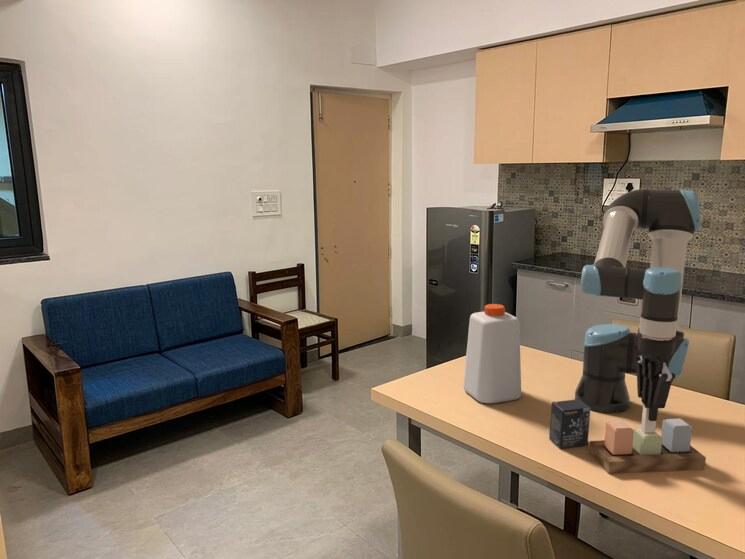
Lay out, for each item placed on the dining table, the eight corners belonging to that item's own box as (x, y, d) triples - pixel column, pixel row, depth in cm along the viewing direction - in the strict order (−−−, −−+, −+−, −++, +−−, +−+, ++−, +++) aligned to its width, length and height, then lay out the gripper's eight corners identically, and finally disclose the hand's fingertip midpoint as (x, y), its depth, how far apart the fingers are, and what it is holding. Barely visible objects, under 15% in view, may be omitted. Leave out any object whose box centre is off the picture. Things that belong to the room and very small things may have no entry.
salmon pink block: (613, 454, 134) (615, 429, 133) (604, 445, 138) (606, 420, 137) (631, 453, 134) (634, 428, 133) (622, 444, 139) (624, 419, 137)
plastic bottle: (500, 381, 187) (503, 298, 181) (526, 399, 173) (531, 309, 167) (458, 388, 182) (460, 302, 176) (482, 407, 168) (484, 314, 162)
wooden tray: (608, 473, 132) (609, 461, 131) (589, 452, 142) (590, 440, 141) (704, 469, 133) (705, 457, 133) (679, 448, 143) (680, 437, 143)
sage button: (641, 461, 135) (643, 436, 134) (631, 452, 139) (633, 427, 138) (659, 460, 135) (662, 435, 134) (649, 451, 140) (651, 427, 138)
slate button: (671, 452, 135) (673, 426, 134) (660, 442, 139) (663, 418, 138) (689, 451, 135) (692, 426, 134) (678, 442, 140) (681, 417, 138)
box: (560, 450, 143) (562, 410, 141) (548, 439, 148) (550, 401, 146) (588, 446, 145) (591, 407, 143) (575, 435, 150) (578, 398, 148)
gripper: (690, 344, 125) (679, 443, 130) (657, 327, 138) (648, 418, 143) (657, 345, 124) (647, 445, 129) (626, 328, 137) (619, 419, 142)
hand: (648, 431), depth 136 cm, fingers closed
